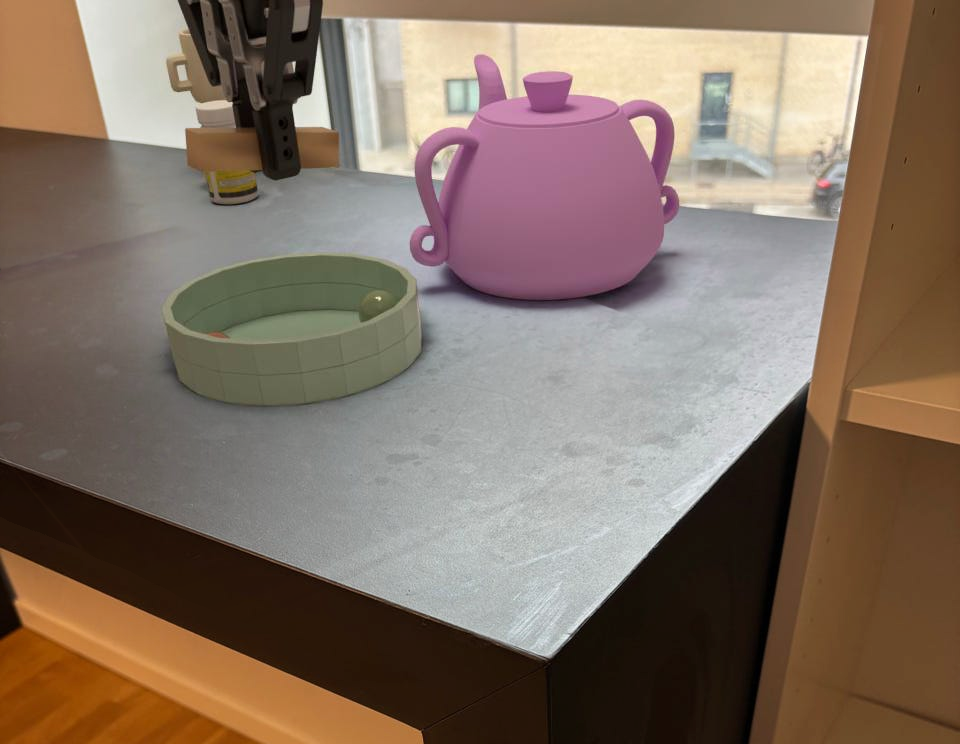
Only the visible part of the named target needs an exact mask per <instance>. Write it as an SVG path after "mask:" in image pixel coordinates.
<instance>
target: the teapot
mask: <svg viewBox="0 0 960 744" xmlns="http://www.w3.org/2000/svg"><path fill="white" fill-rule="evenodd" d="M473 65H474V69H475V72H476V76H477V82H478V83H477V84H478V111H477V112H476V113H475V115H474V116H473V118H472V119H471V121H470V123H469V125H468V126H467V128H464V127H460V126H459V127H458V126H450V127H445V128H442V129H440V130H437V131H436V132H433V133H432V134H431V135H430V136H428V137H427V138H426V139H425V140H424V141H423V143H422V144H421V145H420V146H419V148H418V149H417V152H416V155H415V159H414V167H413V168H414V169H413V170H414V179H415V184H416V188H417V192H418V195H419V198H420V201H421V204H422V207H423V210H424V212H425V214H426V218H427V221H428V223H429V225H427V224H423V225H420V226H417V227H416V228H415V229H414V230H413V231H412V234H411V235H410V238H409V239H410V240H409V251H410V254H411V257H412V259H413V260H414V261H415V262H416V263H418V264H420V265H422V266H425V267H438V266H441V265H443V264H444V263H445V264H446V265H447V266H448V267H449V268H450V269H451V270H452V272H454V273H455V275H457V277H458V278H459V279H460V280H461V281H462V282H463V283H465V285H468V287H470V288H472V289H473V290H476V291H479V292H480V293H484V294H487V295H492V296H495V297H501V298H507V299H515V300H527V301H556V300H567V299H575V298H576V299H577V298H584V297H588V296H593V295H598V294H602V293H605V292H609V291H612V290H615V289H617V288H620V287H622V286H624V285H627V284H628V283H629V282H631V281H632V280H634V279H635V278H636V277H637V276H638V275H639V274H640V273H641V271H642V270H644V268H645V267H647V265H648V264H649V263H650V262H651V260H652V259H653V258H654V257H655V256H656V254H657V253H658V251H659V250H660V248H661V247H662V243H663V240H664V236H665V225H667V224H668V223H670V222H671V221H673V220H674V219H675V217H676V216H677V215H678V214H679V213H678V212H679V211H680V198H679V194H678V193H677V191H676V189H675V188H673V186H670V185H664V183H665V180H666V177H667V173H668V171H669V166H670V163H671V160H672V156H673V151H674V144H675V125H674V122H673V119H672V117H671V114H670V113H669V112H668V111H667V110H666V109H665V108H664V107H663V106H661V105H660V104H658V103H656V102H654V101H651V100H648V99H633V100H630V101H627V102H625V103H623V104H621V105H618V103H617V102H615V101H613V100H611V99H609V98H605V97H600V96H593V95H587V94H586V95H585V94H571V93H570V90H571V87H572V84H573V79H574V77H573V75H572V74H570V73H568V72H566V71H565V72H564V71H558V70H557V71H556V70H555V71H553V70H551V71H550V70H549V71H548V70H547V71H539V72H533V73H529V74H527V75H525V76H523V78H522V83H523V88H524V90H525V94H526V96H517V97H512V98H508V97H507V93H506V89H505V85H504V82H503V78H502V74H501V71H500V68H499V66H498V64H497V63H496V62H495V60H494V59H493V58H492V57H491V56H488V55H486V54H483V53H482V54H481V53H479V54H476V55H475V56H474V58H473ZM639 117H648V118H651V119H652V120H653V122H654V125H655V142H654V147H653V153H652V156H651V160H650V157H649V155H648V153H647V151H646V149H645V147H644V145H643V143H642V142H641V140H640V137H639V136H638V134H637V132H636V130H635V128H634V126H633V125H632V122H631V120H634V119H636V118H639ZM455 145H458V146H457V148H456V151H455V153H454V155H453V156H452V159H451V161H450V164H449V165H448V169H447V171H446V174H445V176H444V179H443V182H442V185H441V189H440V192H439V197H438V198H437V194H436V191H435V187H434V183H433V174H432V169H433V167H432V166H433V163H434V159H435V157H436V156H437V154H438V153H440V151H442V150H444V149H446V148H448V147H451V146H455ZM664 197H665V203H664V204H663V200H662V198H664ZM426 237H433V246H432V248H431V249H430V250H426V249H424V248H423V241H424V239H425V238H426Z"/></svg>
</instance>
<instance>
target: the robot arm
mask: <svg viewBox="0 0 960 744" xmlns="http://www.w3.org/2000/svg"><path fill="white" fill-rule="evenodd" d="M177 3H178V6H179V8H180V11H181V13H182V15H183V18H184V21H185V23H186V26H187V29H189V31H190V34H191V37H192V39H193V42H194V44H195V47H196V50H197V52H198V55H199V58H200V60H201V63H202V65H203V68H204V71H205V73H206V76H207V78H208V81H209V83H210V84H211V86H213V87H215V86H220V85H221V86H222V92H223V95H224V97H225V99H226V101H227V102H232V103H233V104H232V108H233V113H234V119H235V125H236V128H249V127H255V129H256V133H257V138H258V144H259V150H260V156H261V162H262V168H263V170H250V171H251V172H254V173H255V174H256V173H260V172H262V174H263V176H264V177H265V178H267V179H270V180H272V181H281V180H284V179H288V178H293V177H296V176H298V175H299V174H300V172H301V170H302V169H301V163H300V156H299V149H298V143H297V136H296V129H295V127H296V123H295V116H294V109H293V107H294V105H296V104H297V103H298V101H299V99H301V98H302V97H308V96H311V95H312V92H313V86H314V80H315V79H314V78H315V70H316V63H317V56H318V48H319V47H318V46H319V39H320V33H321V32H320V31H321V22H322V17H323V16H322V15H323V7H324V0H177ZM216 57H217V58H216ZM217 60H218V61H217ZM293 63H295V65H294V64H293Z"/></svg>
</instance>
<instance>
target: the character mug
mask: <svg viewBox="0 0 960 744" xmlns="http://www.w3.org/2000/svg"><path fill="white" fill-rule="evenodd" d="M178 38H179V44H180V48H181V53H176V54H171V55H168V56H167V57H166V58H165V59H166V61H165V64H166V65H165V66H166V70H167V74H168V78H169V83H170V87H171V89H172V91H173V92H175V93H185V92H190V95H191V96H192V98H193V99H194V102H195V103H199V104H202V103H206V102H211V101H219V100H226V99H225V97H224V95H223V92H222V86H221V85H220V86H215V87H213V86H211V84H210V83H209V81H208V78H207V76H206V73H205V71H204V68H203V65H202V63H201V60H200V58H199V55H198V52H197V50H196V47H195V44H194V42H193V39H192V37H191V34H190V31H189V29H188V28H187V29H182V30H180V31H179V32H178ZM216 58H217V57H216ZM217 61H218V60H217ZM178 66H184V69H185V74H186V79H185V80H180V76H179V71H178Z"/></svg>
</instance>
